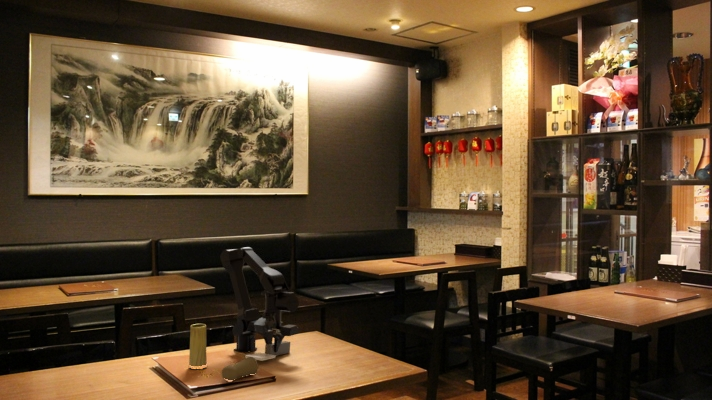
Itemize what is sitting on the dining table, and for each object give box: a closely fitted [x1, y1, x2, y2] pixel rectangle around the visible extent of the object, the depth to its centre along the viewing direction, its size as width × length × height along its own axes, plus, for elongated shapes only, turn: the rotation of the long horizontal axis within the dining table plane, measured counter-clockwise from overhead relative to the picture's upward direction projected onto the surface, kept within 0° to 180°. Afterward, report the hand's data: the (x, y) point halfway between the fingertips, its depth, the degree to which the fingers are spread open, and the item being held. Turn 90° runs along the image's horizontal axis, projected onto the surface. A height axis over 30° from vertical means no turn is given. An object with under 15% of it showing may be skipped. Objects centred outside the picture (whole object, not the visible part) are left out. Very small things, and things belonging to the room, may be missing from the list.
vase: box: [188, 323, 208, 366], centre depth 201 cm, size 6×6×14 cm
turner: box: [244, 340, 291, 361], centre depth 214 cm, size 7×20×4 cm, turn 151°
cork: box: [221, 357, 259, 381], centre depth 189 cm, size 6×6×11 cm
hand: (272, 351), depth 215 cm, fingers closed on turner, 2 cm apart
